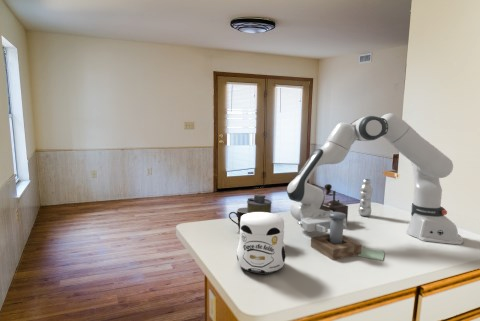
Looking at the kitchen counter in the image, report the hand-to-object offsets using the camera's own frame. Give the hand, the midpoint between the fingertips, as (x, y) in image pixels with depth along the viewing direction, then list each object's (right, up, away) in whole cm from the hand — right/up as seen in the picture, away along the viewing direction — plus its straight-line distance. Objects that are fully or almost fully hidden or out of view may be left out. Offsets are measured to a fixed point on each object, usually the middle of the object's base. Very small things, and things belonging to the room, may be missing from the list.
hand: (335, 228), depth 137 cm
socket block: (0, -9, +1) cm, 9 cm away
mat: (+13, -10, -2) cm, 17 cm away
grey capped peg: (0, -9, +1) cm, 9 cm away
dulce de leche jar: (-31, -11, -15) cm, 36 cm away
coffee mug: (-37, -5, +22) cm, 44 cm away
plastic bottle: (+30, -3, +49) cm, 58 cm away
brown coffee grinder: (+8, -4, +39) cm, 40 cm away
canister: (-31, -7, +10) cm, 33 cm away
